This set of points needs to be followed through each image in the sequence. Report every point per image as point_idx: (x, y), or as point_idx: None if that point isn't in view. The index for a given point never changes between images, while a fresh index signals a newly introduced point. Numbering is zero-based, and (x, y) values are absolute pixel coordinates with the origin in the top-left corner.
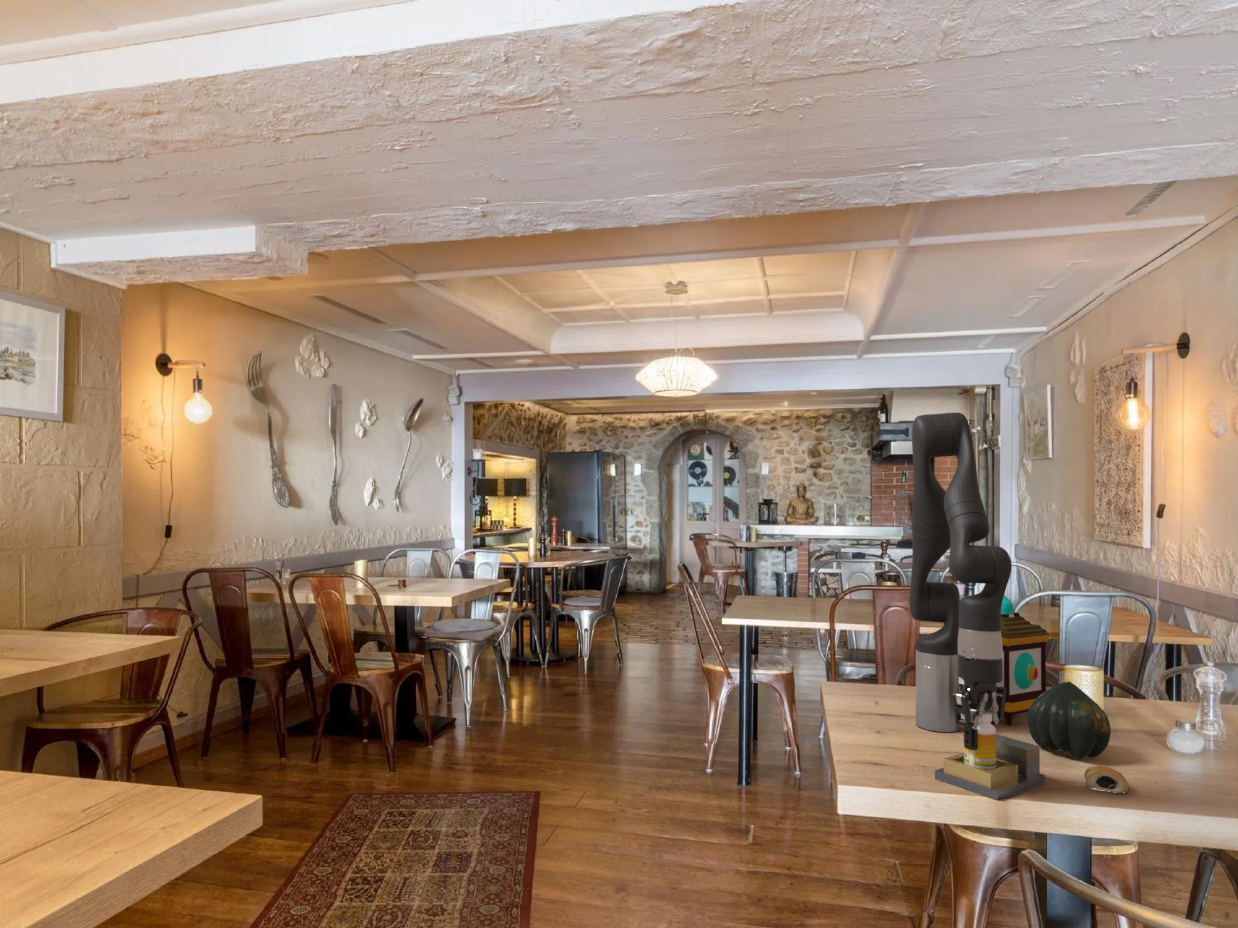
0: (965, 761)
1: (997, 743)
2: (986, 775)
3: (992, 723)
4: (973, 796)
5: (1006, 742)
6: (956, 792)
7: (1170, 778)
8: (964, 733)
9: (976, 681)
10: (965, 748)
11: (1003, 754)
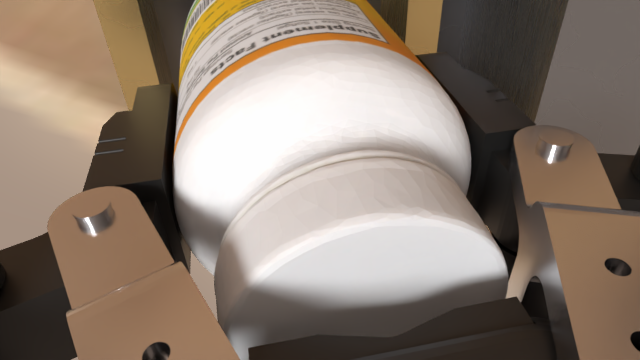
0: (189, 12)
1: (544, 47)
2: None
3: (484, 219)
4: (86, 109)
5: (578, 87)
6: (29, 42)
7: None
8: (90, 182)
9: None
10: (186, 49)
11: (504, 60)
